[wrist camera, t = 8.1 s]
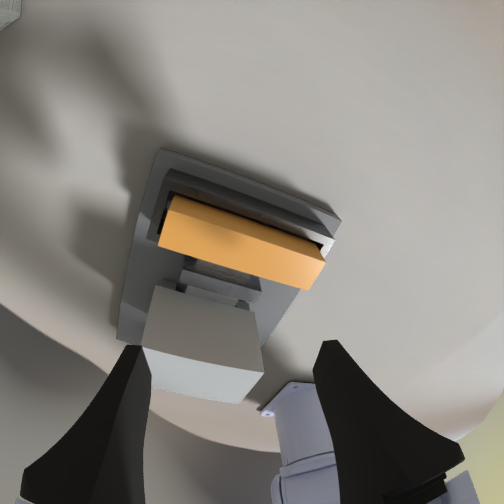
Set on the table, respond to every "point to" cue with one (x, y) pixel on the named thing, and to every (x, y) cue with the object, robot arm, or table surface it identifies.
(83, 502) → the robot arm
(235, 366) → the block
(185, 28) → the table surface
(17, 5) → the small box
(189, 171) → the mounting board
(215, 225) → the locking tab
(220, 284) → the gray slotted fixture
